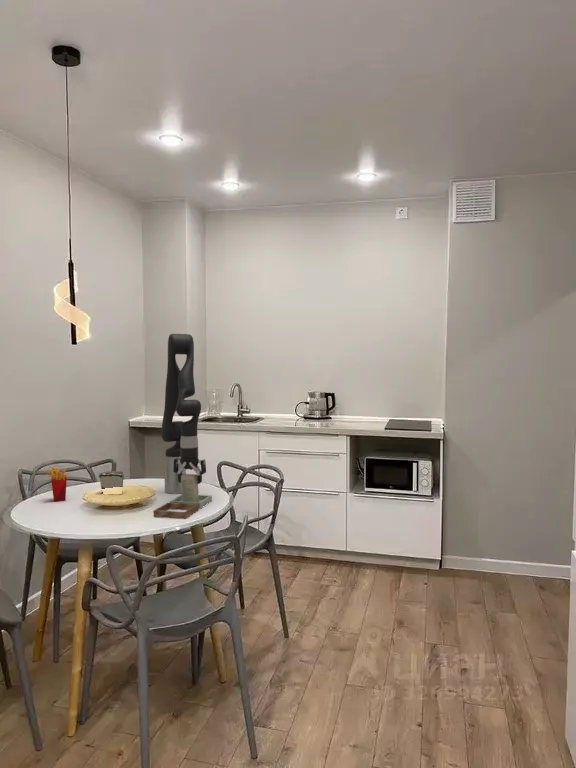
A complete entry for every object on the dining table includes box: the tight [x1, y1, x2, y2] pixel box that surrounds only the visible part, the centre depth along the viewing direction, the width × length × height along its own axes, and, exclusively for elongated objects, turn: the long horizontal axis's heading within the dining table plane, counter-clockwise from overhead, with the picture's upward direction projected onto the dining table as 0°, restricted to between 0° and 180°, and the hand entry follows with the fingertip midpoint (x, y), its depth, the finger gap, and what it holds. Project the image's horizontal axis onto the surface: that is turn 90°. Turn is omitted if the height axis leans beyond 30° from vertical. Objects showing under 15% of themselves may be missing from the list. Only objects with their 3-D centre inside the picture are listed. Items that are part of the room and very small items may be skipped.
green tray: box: [169, 494, 213, 510], centre depth 260 cm, size 14×13×2 cm
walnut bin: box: [153, 502, 200, 520], centre depth 246 cm, size 14×13×2 cm
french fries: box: [45, 466, 68, 503], centre depth 269 cm, size 9×8×15 cm
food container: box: [98, 470, 126, 489], centre depth 283 cm, size 12×6×10 cm, turn 84°
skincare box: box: [181, 473, 200, 502], centre depth 260 cm, size 6×4×12 cm
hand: (189, 482), depth 260 cm, fingers open, 8 cm apart
